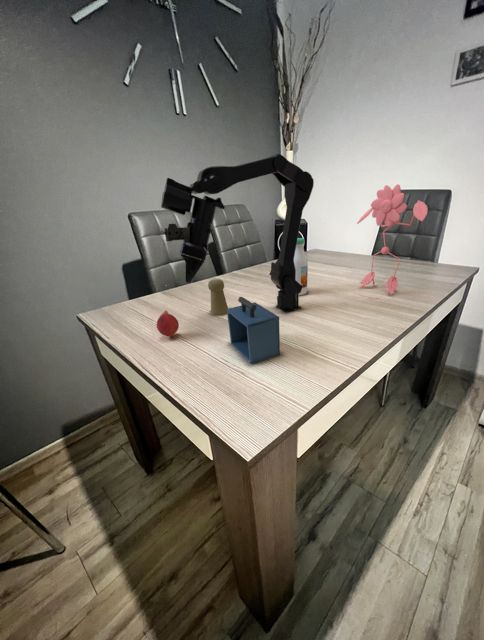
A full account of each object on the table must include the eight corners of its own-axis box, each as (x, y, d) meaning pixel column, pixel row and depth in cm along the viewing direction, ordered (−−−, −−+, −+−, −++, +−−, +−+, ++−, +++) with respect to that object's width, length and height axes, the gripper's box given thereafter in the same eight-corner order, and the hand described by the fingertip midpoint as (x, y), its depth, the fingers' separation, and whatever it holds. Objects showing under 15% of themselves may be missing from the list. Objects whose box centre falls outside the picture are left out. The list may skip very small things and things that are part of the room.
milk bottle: (294, 297, 103) (294, 241, 93) (283, 292, 109) (283, 238, 100) (310, 293, 106) (313, 238, 96) (299, 288, 112) (300, 236, 102)
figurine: (358, 281, 117) (370, 186, 100) (417, 295, 98) (444, 181, 80) (333, 288, 110) (341, 188, 92) (390, 305, 91) (414, 182, 73)
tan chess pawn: (225, 315, 91) (221, 282, 85) (208, 314, 92) (203, 282, 87) (230, 308, 96) (227, 277, 90) (214, 308, 97) (210, 277, 92)
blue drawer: (254, 290, 70) (225, 296, 66) (278, 303, 60) (246, 311, 57) (257, 336, 76) (230, 343, 73) (280, 354, 67) (251, 364, 64)
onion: (169, 343, 75) (162, 316, 71) (155, 338, 78) (148, 312, 74) (185, 334, 79) (179, 308, 75) (171, 331, 82) (165, 305, 78)
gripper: (174, 212, 78) (165, 266, 83) (164, 208, 61) (152, 276, 67) (213, 225, 81) (201, 277, 86) (213, 225, 64) (198, 289, 69)
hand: (189, 279), depth 77 cm, fingers open, 9 cm apart
